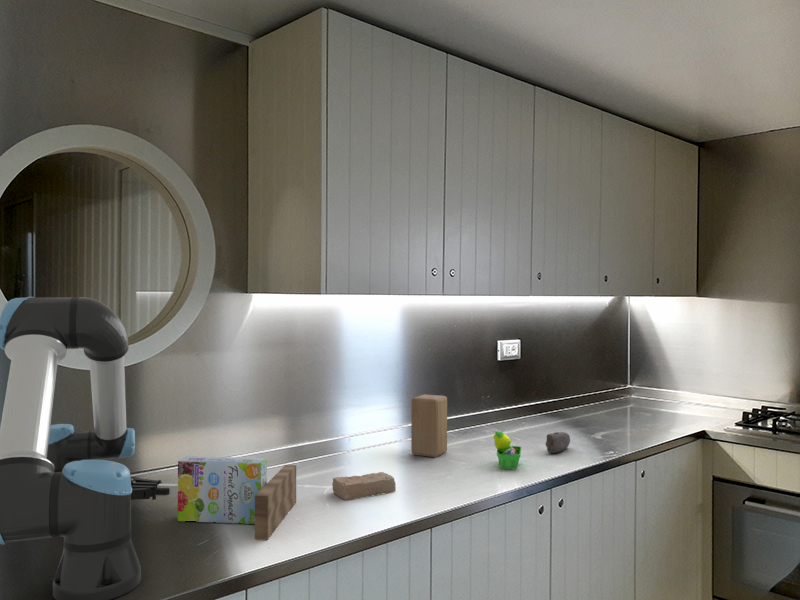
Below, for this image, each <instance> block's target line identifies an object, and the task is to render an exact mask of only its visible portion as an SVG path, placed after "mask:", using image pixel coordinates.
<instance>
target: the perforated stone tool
mask: <svg viewBox="0 0 800 600" xmlns="http://www.w3.org/2000/svg"><path fill="white" fill-rule="evenodd" d="M570 443H571V436H570V434H568V432H565V431H558V432H557V431H556V432H552V433H548V434H546V441H545V448H546V450H547V452H548V453H551V454H552V453H553V454H557V453H561V452H563V451H565V450H566V449H567V448H568V447H569V446H570Z"/></svg>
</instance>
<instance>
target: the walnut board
mask: <svg viewBox="0 0 800 600" xmlns="http://www.w3.org/2000/svg"><path fill="white" fill-rule="evenodd" d="M295 503H296V504H297V465H295V464H294V465H293V464H292V465H291V464H285V465H284V466H283V467H282V468H280V470H279V471H277V472H276V474H275V475H274V476H273V477H271V479H270V480H269V481H267V484H266V485H265V486H264V487H263V488H262V489H261V490H260V491H259V492H258V493H257V494H256V495H255V524H254V540H255V539H266V540H265V541H268V540H269V539H270V538H271V537H272V535H273V534H274V532H275V531H276V530H277V529H278V528H279V526H280V525H281V524H282V522H283V521H284V520H285V518H286V517H285V516H287V515H288V514H289V513H290V511H291V510H292V509H293V507H294V506H295V505H296V504H295ZM288 512H289V513H288ZM282 520H283V521H282ZM279 524H280V525H279ZM276 528H277V529H276ZM272 533H273V534H272ZM269 537H270V538H269Z"/></svg>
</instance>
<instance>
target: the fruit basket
mask: <svg viewBox="0 0 800 600" xmlns="http://www.w3.org/2000/svg"><path fill="white" fill-rule="evenodd" d="M493 438H494V439H493V440H494V446H495V448H496V456H497V459H498V463H499V467H500V469H501V468H505V470H518V466H519V461H520V458H521V456H522V447H521V446H518V445H515V446H514V445H511V443H512V440H511V438H510V437H509V436H508V435H507V434H505V433H504V432H503V431H502V430H495V432H494V435H493Z"/></svg>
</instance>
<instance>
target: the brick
mask: <svg viewBox="0 0 800 600" xmlns="http://www.w3.org/2000/svg"><path fill="white" fill-rule="evenodd" d="M331 483H332V486H331V487H332V491H333V493H334V494H335V495H336V496H338V497H339V498H341V499H342V500H344V501H345V500H348V501H349V500H355V498H358V499H362V498H361V497H364V498H367V497H366V496H369V497H373V496H372V495H374V496H378V495H377V494H380V495H383V494H382V493H386V494H389V493H395V492H396V489H397V488H396V487H397V486H396V485H397V484H396V481H395V478H394V476H393V475H391V474H388V473H386V472H384V471H380V472H374V473H373V472H372V473H367V474H362V475H352V476H351V475H350V476H337V477H333V478H332V482H331ZM394 491H395V492H394Z"/></svg>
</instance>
